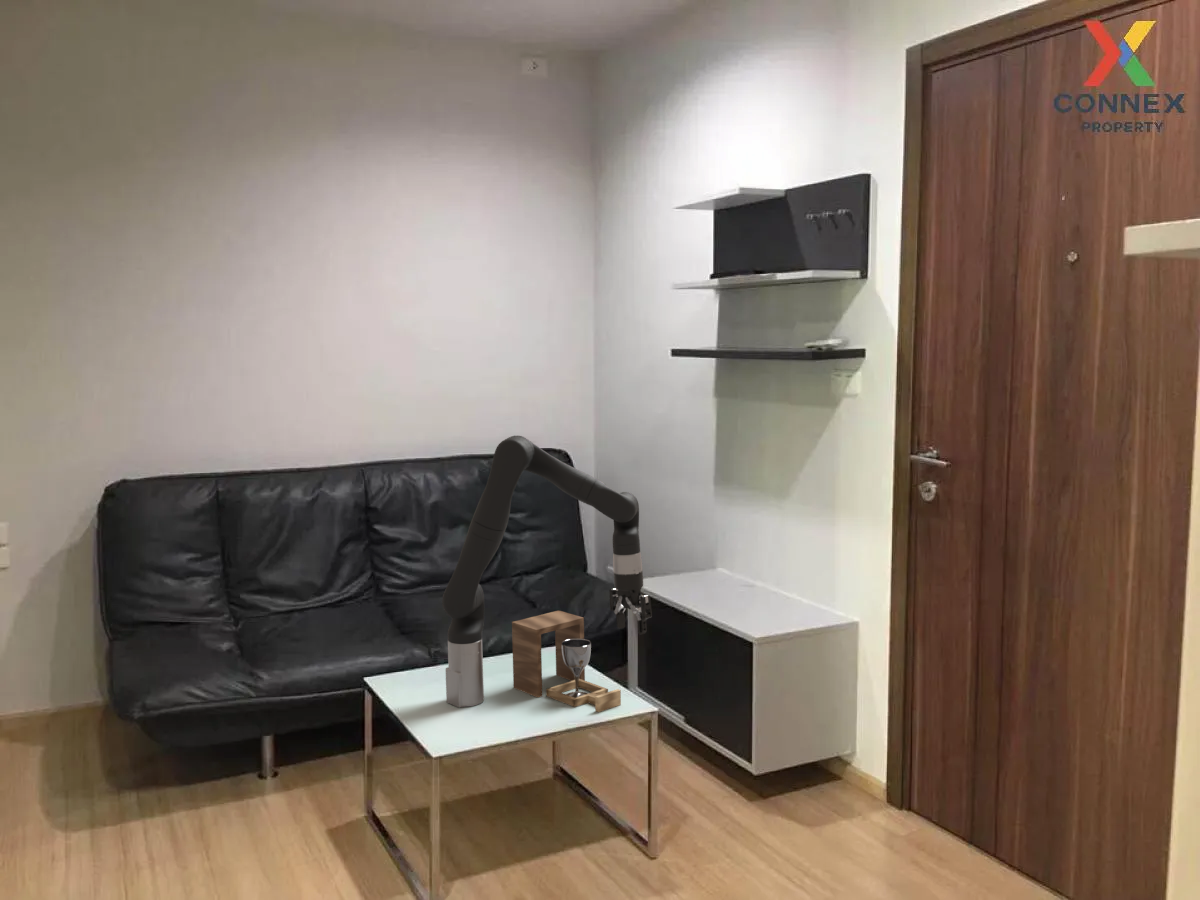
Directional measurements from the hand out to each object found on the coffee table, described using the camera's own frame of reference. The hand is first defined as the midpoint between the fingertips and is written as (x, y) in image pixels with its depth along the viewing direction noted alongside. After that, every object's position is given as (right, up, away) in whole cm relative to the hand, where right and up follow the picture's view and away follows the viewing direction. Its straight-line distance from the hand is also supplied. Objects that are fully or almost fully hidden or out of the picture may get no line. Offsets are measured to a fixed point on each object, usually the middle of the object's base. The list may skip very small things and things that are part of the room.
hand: (631, 630), depth 266 cm
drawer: (-12, -20, +11) cm, 26 cm away
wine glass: (-15, -21, +14) cm, 29 cm away
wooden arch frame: (-23, -19, +23) cm, 37 cm away
